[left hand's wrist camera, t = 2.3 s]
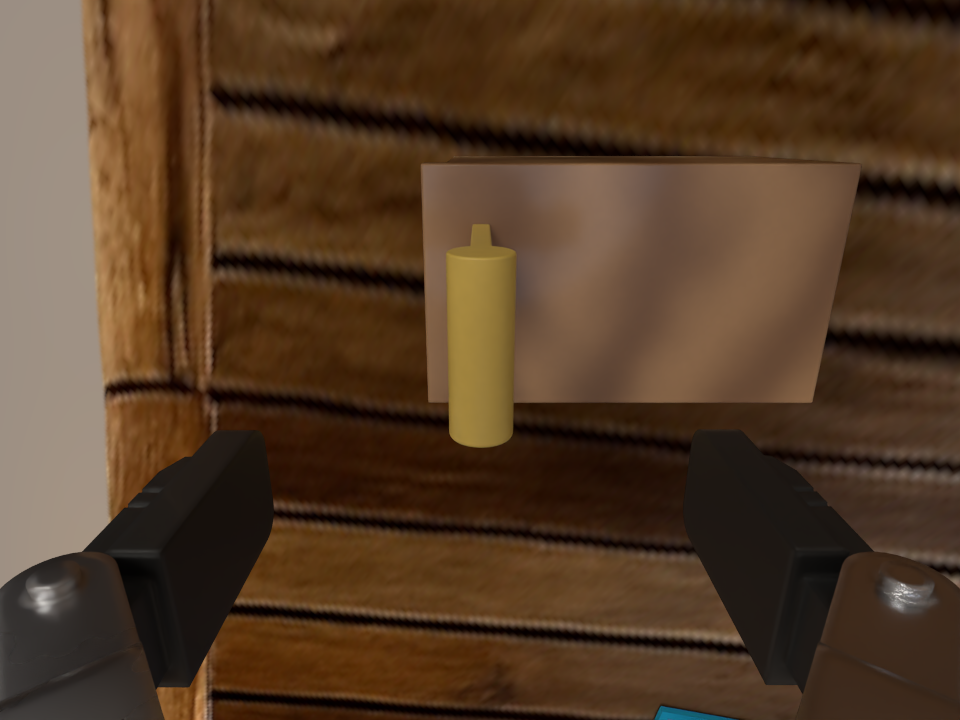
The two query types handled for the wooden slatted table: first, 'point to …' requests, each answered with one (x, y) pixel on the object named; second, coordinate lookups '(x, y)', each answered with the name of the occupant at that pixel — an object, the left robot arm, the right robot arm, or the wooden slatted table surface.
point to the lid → (627, 283)
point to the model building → (684, 715)
